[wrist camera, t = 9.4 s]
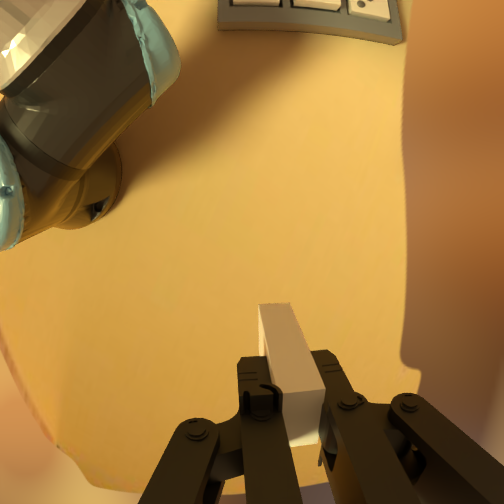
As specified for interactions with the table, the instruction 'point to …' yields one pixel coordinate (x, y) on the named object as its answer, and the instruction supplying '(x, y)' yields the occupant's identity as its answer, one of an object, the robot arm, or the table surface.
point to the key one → (257, 3)
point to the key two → (319, 4)
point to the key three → (369, 9)
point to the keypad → (310, 21)
